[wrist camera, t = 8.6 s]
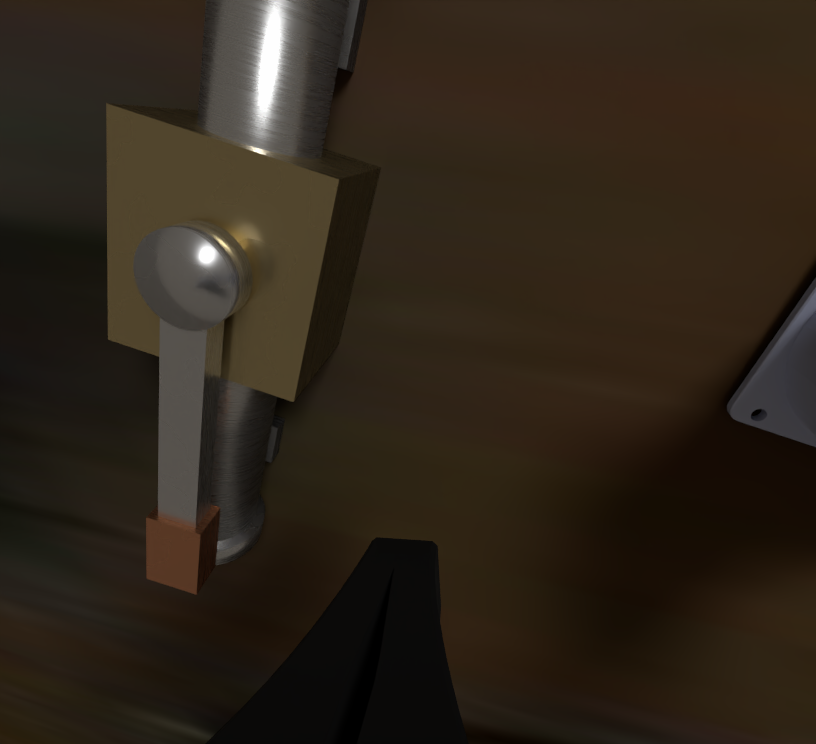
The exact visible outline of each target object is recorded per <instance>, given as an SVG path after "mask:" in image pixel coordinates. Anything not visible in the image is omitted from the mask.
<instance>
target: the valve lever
mask: <svg viewBox="0 0 816 744" xmlns="http://www.w3.org/2000/svg"><path fill="white" fill-rule="evenodd" d="M133 269H134V277H135V281H136V284H137V287H138V289H139V292H140V294H141V296H142V297H143V299H144V301H145V302H146V303H147V305H148V306H149V307H150V308H151V310H152V311H153V312H154V313H155V314H156V315H158V316H159V317H160V351H159V458H158V505H157V506H156V508H155V509H154V510H153V511H152V512H151V513H150V514H149V515H148V516H147V517H146V544H147V579H149V580H153V581H156V582H159V583H162V584H165V585H168V586H171V587H174V588H177V589H180V590H183V591H186V592H189V593H193V594H196V595H197V593H198V592H199V590H200V589H201V587H202V586H203V584H204V583H205V581H206V580H207V578H208V576H209V575H210V573H211V572H212V570H213V569H214V567H215V566H216V555H217V543H218V532H219V521H220V510H221V507H217V506H214V505H211V493H212V479H213V466H214V453H215V440H216V427H217V413H218V400H219V387H220V374H221V360H222V347H223V334H224V321H225V319H226V318H228V317H229V316H231V315H232V314H234V313H235V312H236V311H238V310H239V309H241V308H242V306H243V305H244V304H245V303H246V301H247V300H248V298H249V296H250V293H251V290H252V284H253V276H252V269H251V265H250V262H249V259H248V257H247V255H246V252H245V251H244V249H243V248H242V246H241V245H240V243H239V242H238V241H237V240H236V239H235V238H234V237H233V236H232V235H231V234H230V233H229V232H228V231H226V230H225V229H223V228H222V227H220V226H218V225H216V224H213V223H211V222H207V221H202V220H190V221H186V222H182V223H179V224H175V225H171V226H168V227H164V228H161V229H157V230H155V231H153V232H151V233H149V234H148V235H147V236H146V237H144V238H143V240H142V241H141V242H140V244H139V245H138V247H137V249H136V252H135V256H134V264H133Z"/></svg>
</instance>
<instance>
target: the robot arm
mask: <svg viewBox="0 0 816 744" xmlns="http://www.w3.org/2000/svg"><path fill="white" fill-rule="evenodd" d="M757 409H762V411H761V412H760V413H759V414H758V415H755V416H751V414H752V412H753V411H755V410H757ZM727 411H728V413H729V414H730V416H731V417H732V418H733V419H734V420H736V421H739V422H742V423H745V424H748V425H751V426H754V427H757V428H760V429H763V430H766V431H769V432H772V433H775V434H778V435H781V436H784V437H787V438H790V439H793V440H796V441H799V442H802V443H805V444H808V445H811V446H814V447H816V278H815V279H814V280H813V282H812V283H811V285H810V286H809V288H808V289H807V290H806V292H805V293H804V295H803V296H802V298H801V299H800V300H799V302H798V303H797V305H796V306H795V308H794V309H793V310H792V312H791V313H790V315H789V316H788V318H787V319H786V321H785V322H784V323H783V325H782V326H781V328H780V329H779V331H778V332H777V333H776V335H775V336H774V338H773V339H772V341H771V342H770V343H769V345H768V346H767V348H766V349H765V351H764V352H763V353H762V355H761V356H760V358H759V359H758V361H757V362H756V364H755V365H754V366H753V368H752V369H751V371H750V372H749V374H748V375H747V376H746V378H745V379H744V381H743V382H742V384H741V385H740V386H739V388H738V389H737V391H736V392H735V394H734V395H733V396H732V398H731V399H730V401H729V402H728V405H727ZM440 612H441V599H440V582H439V564H438V546H437V545H436V544H435V543H434V542H433V541H422V540H407V539H392V538H375V539H374V540H373V541H372V542H371V544H370V545H369V547H368V549H367V550H366V552H365V554H364V555H363V557H362V558H361V560H360V562H359V563H358V565H357V566H356V568H355V569H354V571H353V572H352V574H351V575H350V577H349V578H348V579H347V581H346V582H345V584H344V585H343V587H342V588H341V590H340V591H339V592H338V594H337V595H336V597H335V598H334V599H333V601H332V602H331V603H330V605H329V606H328V607H327V609H326V610H325V611H324V613H323V614H322V616H321V617H320V618H319V620H318V621H317V622H316V623H315V625H314V626H313V627H312V629H311V630H310V631H309V632H308V633H307V635H306V636H305V637H304V638H303V640H302V641H301V642H300V643H299V644H298V646H297V647H296V648H295V649H294V651H293V652H292V653H291V654H290V655H289V657H288V658H287V659H286V660H285V661H284V663H283V664H282V665H281V666H280V667H279V668H278V669H277V671H276V672H275V673H274V674H273V675H272V676H271V677H270V678H269V680H268V681H267V682H266V683H265V684H264V685H263V686H262V687H261V688H260V689H259V690H258V691H257V693H256V694H255V695H254V696H253V697H252V698H251V699H250V700H249V701H248V702H247V703H246V704H245V705H244V706H243V707H242V708H241V709H240V710H239V711H238V712H237V713H236V714H235V715H234V716H233V717H232V718H231V719H230V720H229V721H228V722H227V723H226V724H225V725H224V726H223V727H222V728H221V729H220V730H219V731H218V732H217V733H216V734H215V735H214V736H213V737H212V738H211V739H210V740H209V741H208V742H207V743H206V744H468V741H467V737H466V734H465V730H464V727H463V723H462V719H461V716H460V712H459V708H458V705H457V701H456V697H455V693H454V689H453V685H452V680H451V676H450V671H449V667H448V662H447V658H446V653H445V648H444V643H443V637H442V631H441V625H440Z"/></svg>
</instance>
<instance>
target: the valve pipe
mask: <svg viewBox="0 0 816 744" xmlns="http://www.w3.org/2000/svg"><path fill="white" fill-rule="evenodd" d="M366 5H367V0H206V8H205V21H204V35H203V49H202V63H201V77H200V91H199V105H198V110H186V109H173V108H160V107H147V106H134V105H121V104H108V103H106V104H107V258H108V340H111V341H114V342H117V343H120V344H123V345H126V346H129V347H132V348H135V349H138V350H141V351H144V352H147V353H150V354H153V355H156V356H159V351H160V317H159V316H158V315H156V314H155V313H154V312H153V311H152V310H151V308H150V307H149V306H148V305H147V303H146V302H145V301H144V299H143V297H142V296H141V294H140V292H139V289H138V287H137V284H136V281H135V277H134V269H133V264H134V256H135V252H136V249H137V247H138V245H139V244H140V242H141V241H142V240H143V238H144V237H146V236H147V235H148V234H149V233H151V232H153V231H155V230H157V229H161V228H164V227H168V226H171V225H175V224H179V223H182V222H186V221H190V220H202V221H207V222H211V223H213V224H216V225H218V226H220V227H222V228H223V229H225V230H226V231H228V232H229V233H230V234H231V235H232V236H233V237H234V238H235V239H236V240H237V241H238V242H239V243H240V245H241V246H242V248H243V249H244V251H245V252H246V255H247V257H248V259H249V262H250V265H251V269H252V276H253V284H252V290H251V293H250V296H249V298H248V300H247V301H246V303H245V304H244V305H243V306H242V308H241V309H239V310H238V311H236V312H235V313H234V314H232V315H231V316H229V317H228V318H226V319H225V321H224V334H223V347H222V360H221V374H220V387H219V400H218V413H217V427H216V440H215V453H214V466H213V479H212V493H211V505H214V506H217V507H221V510H220V521H219V532H218V543H217V555H216V565H220V564H224V563H228V562H231V561H233V560H236V559H238V558H240V557H241V556H243V555H244V554H246V553H247V552H248V551H250V550H251V549H252V548H253V546H254V545H255V544H256V543H257V541H258V539H259V537H260V534H261V531H262V526H263V521H264V516H265V505H264V501H263V499H262V497H261V495H260V494H259V493H260V488H261V482H262V477H263V471H264V466H265V461H267V462H270V463H271V462H272V461H273V459H274V458H275V457H276V455H277V454H278V451H279V446H280V441H281V436H282V431H283V426H284V420H285V419H284V418H281V417H278V416H275V415H274V412H275V406H276V401H277V397H279V398H282V399H285V400H288V401H291V402H294V401H295V400H296V399H297V397H298V396H299V395H300V393H301V392H302V391H303V390H304V388H305V387H306V386H307V384H308V383H309V382H310V380H311V379H312V378H313V377H314V375H315V374H316V373H317V371H318V370H319V369H320V367H321V366H322V365H323V364H324V362H325V361H326V360H327V358H328V357H329V356H330V354H331V353H332V352H333V350H334V349H335V348H336V347H337V345H338V344H339V340H340V336H341V332H342V328H343V324H344V320H345V315H346V311H347V307H348V303H349V299H350V294H351V290H352V286H353V282H354V278H355V274H356V269H357V265H358V261H359V257H360V253H361V248H362V244H363V240H364V236H365V232H366V228H367V223H368V219H369V215H370V211H371V207H372V202H373V198H374V194H375V190H376V186H377V182H378V177H379V173H380V169H381V168H380V167H377V166H374V165H371V164H368V163H365V162H362V161H359V160H356V159H353V158H350V157H347V156H343V155H340V154H337V153H334V152H331V151H328V150H325V149H323V145H324V140H325V134H326V129H327V124H328V118H329V113H330V107H331V102H332V96H333V91H334V86H335V80H336V75H337V69H338V68H340V69H343V70H347V71H350V72H353V71H354V66H355V61H356V56H357V51H358V46H359V41H360V36H361V31H362V26H363V21H364V16H365V11H366Z"/></svg>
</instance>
